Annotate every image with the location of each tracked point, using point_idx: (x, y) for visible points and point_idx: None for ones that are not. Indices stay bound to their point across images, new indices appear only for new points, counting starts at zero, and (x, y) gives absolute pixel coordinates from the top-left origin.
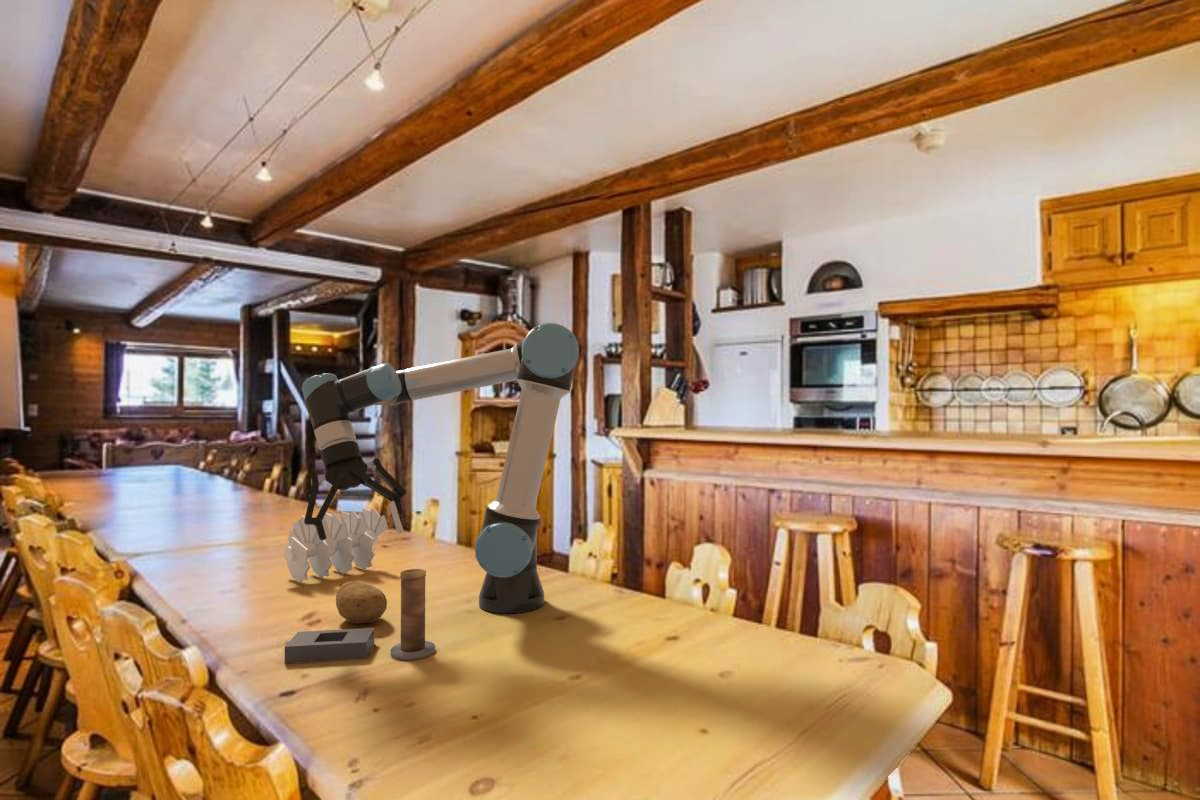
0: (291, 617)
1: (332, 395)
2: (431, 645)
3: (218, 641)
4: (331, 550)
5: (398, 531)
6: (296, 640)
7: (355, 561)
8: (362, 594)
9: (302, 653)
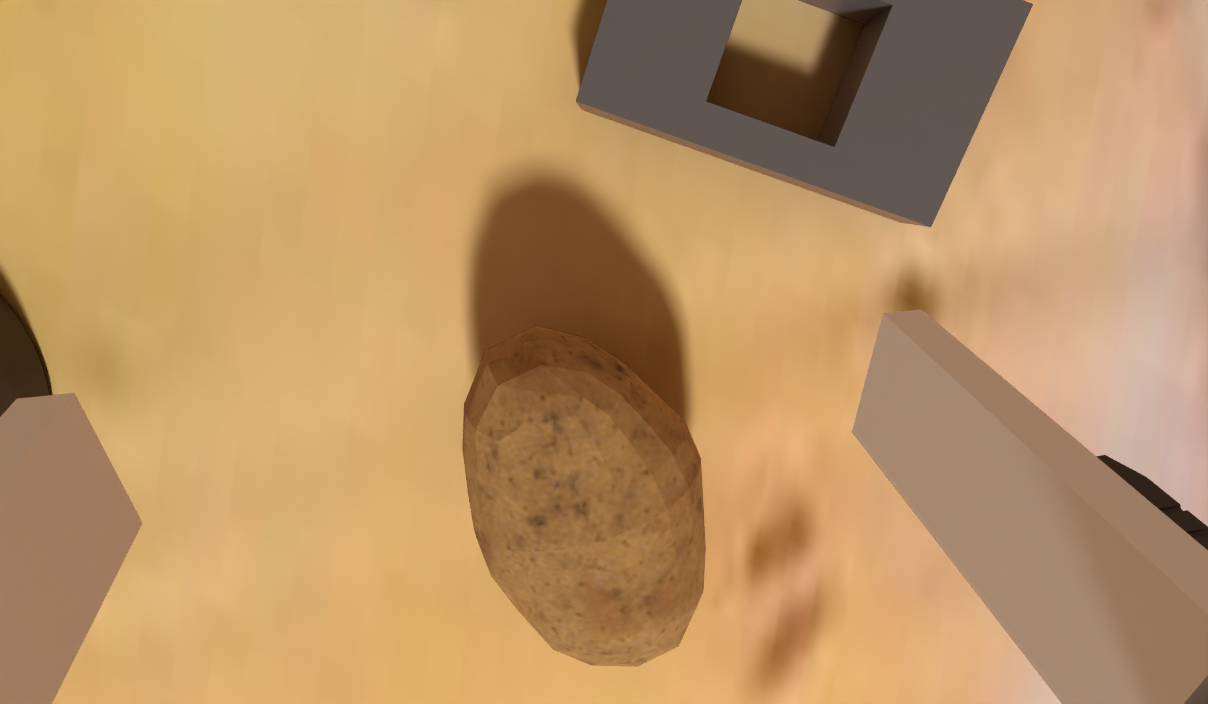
0: (857, 655)
1: None
2: None
3: (1182, 476)
4: (933, 326)
5: (101, 473)
6: (963, 79)
7: None
8: (591, 400)
9: None
